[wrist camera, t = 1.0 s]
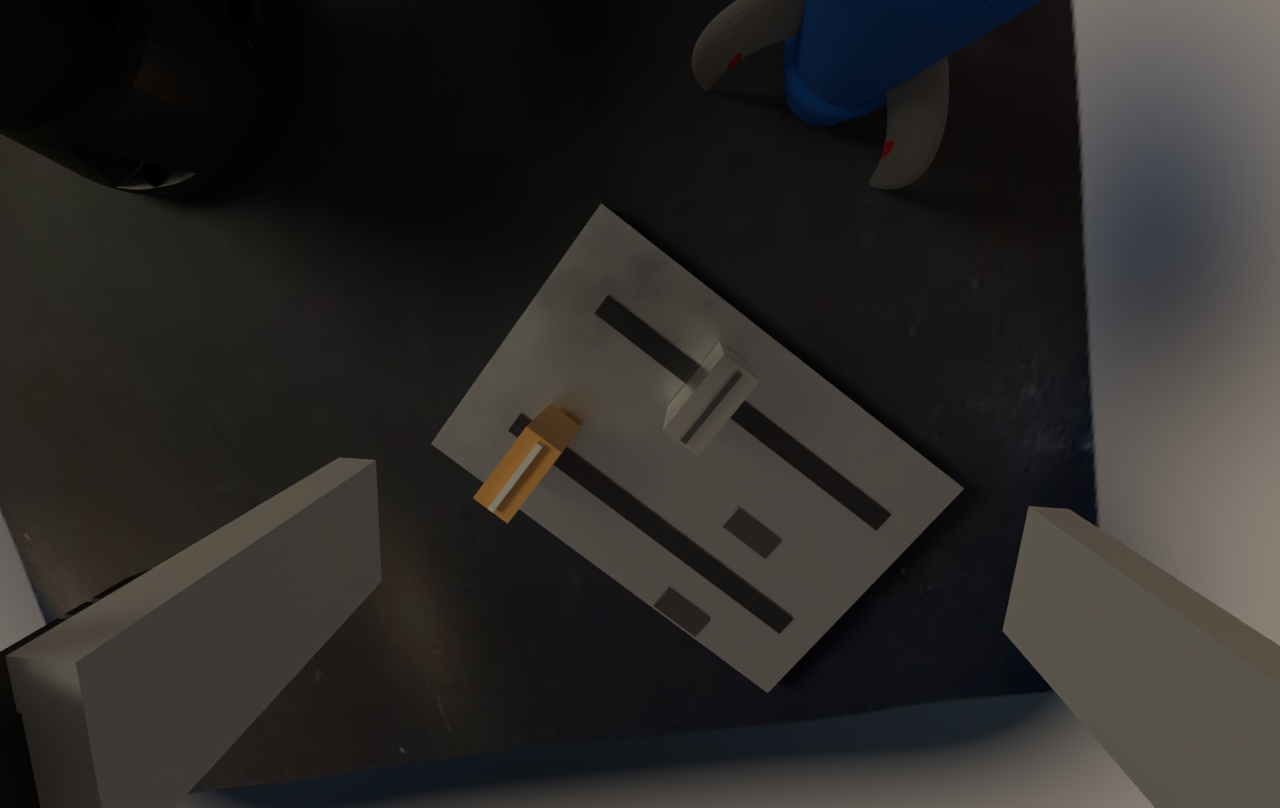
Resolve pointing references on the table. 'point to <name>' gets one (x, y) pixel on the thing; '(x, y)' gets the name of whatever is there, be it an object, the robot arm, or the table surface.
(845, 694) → the table surface
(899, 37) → the toy rocket
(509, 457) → the fader
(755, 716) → the table surface
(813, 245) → the table surface
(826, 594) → the console
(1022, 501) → the table surface
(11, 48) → the robot arm
